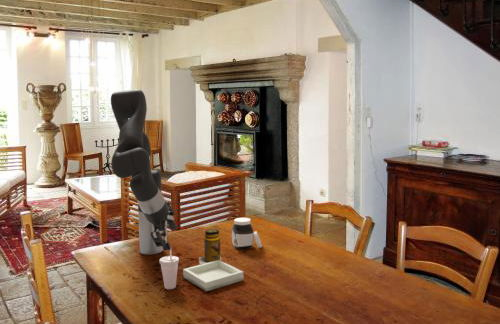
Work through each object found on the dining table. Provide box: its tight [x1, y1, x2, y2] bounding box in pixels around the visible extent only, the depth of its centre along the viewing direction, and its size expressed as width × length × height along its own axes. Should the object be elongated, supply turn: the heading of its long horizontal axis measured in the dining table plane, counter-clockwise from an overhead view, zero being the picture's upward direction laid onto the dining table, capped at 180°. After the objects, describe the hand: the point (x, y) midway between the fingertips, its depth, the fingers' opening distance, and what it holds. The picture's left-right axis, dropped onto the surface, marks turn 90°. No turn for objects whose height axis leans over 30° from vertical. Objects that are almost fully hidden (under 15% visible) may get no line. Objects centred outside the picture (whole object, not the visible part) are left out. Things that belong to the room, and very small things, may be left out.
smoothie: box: [159, 249, 180, 290], centre depth 156 cm, size 6×6×14 cm
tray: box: [182, 259, 244, 292], centre depth 163 cm, size 15×15×3 cm
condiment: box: [198, 228, 222, 265], centre depth 181 cm, size 7×8×12 cm
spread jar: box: [231, 217, 263, 250], centre depth 197 cm, size 12×11×12 cm
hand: (171, 238), depth 153 cm, fingers open, 8 cm apart
